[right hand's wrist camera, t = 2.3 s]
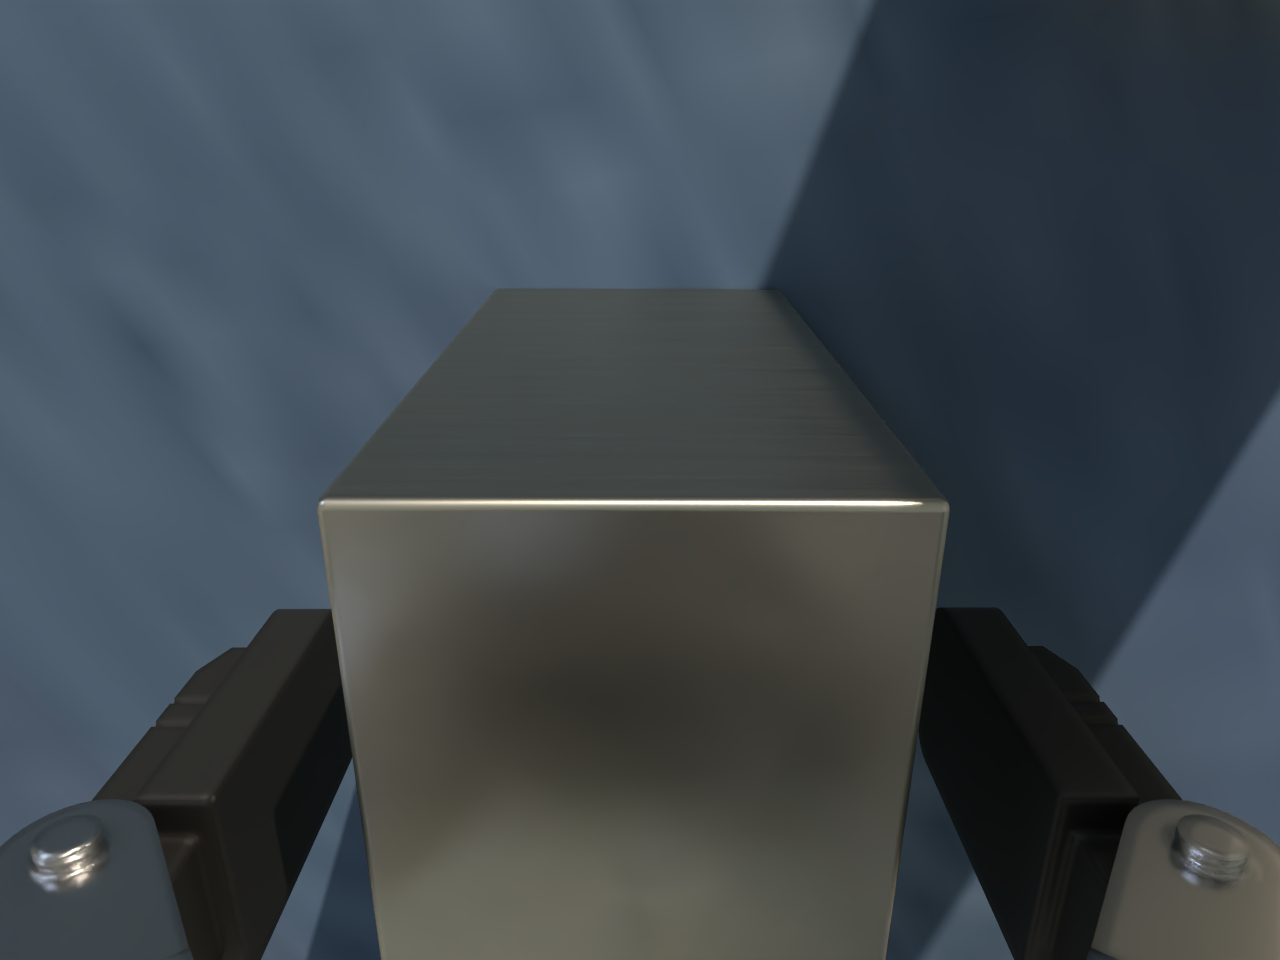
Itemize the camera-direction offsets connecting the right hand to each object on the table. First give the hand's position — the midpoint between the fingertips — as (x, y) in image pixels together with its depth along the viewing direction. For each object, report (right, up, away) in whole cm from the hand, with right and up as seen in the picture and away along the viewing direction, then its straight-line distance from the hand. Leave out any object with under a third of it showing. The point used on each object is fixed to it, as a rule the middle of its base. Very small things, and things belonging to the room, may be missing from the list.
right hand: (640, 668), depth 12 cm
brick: (0, +2, +5) cm, 5 cm away
